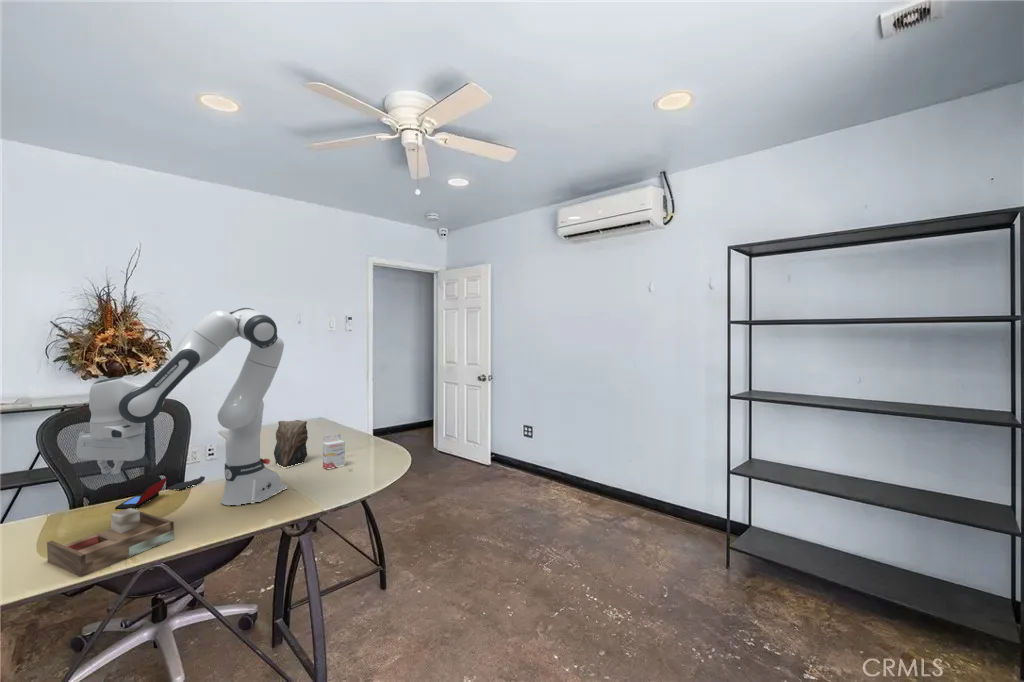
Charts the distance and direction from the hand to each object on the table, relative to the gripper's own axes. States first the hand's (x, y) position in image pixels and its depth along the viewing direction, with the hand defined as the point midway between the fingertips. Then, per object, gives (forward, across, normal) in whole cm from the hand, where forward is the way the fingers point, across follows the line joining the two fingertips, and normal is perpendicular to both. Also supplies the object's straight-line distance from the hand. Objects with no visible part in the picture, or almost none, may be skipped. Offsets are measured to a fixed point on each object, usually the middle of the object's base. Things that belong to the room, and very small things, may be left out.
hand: (111, 473), depth 139 cm
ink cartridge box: (+19, +37, +69) cm, 81 cm away
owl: (+19, +14, +71) cm, 75 cm away
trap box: (+19, +10, -9) cm, 24 cm away
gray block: (+16, +7, -2) cm, 18 cm away
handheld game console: (+20, -13, +23) cm, 33 cm away
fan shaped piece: (+20, -11, +41) cm, 47 cm away
